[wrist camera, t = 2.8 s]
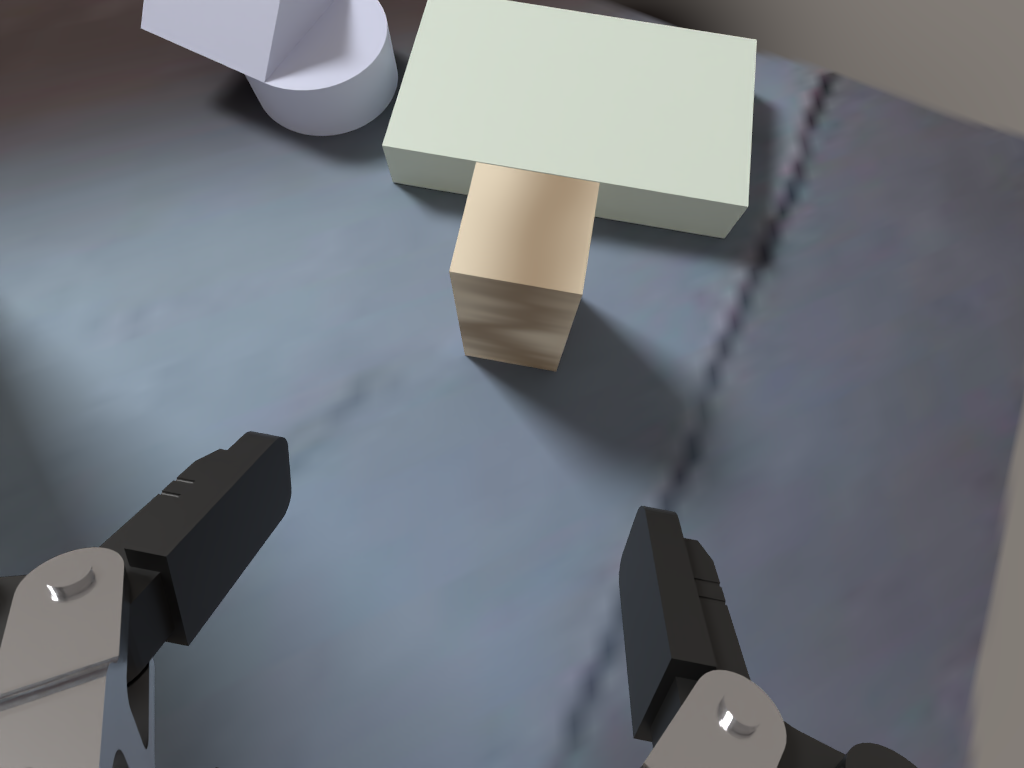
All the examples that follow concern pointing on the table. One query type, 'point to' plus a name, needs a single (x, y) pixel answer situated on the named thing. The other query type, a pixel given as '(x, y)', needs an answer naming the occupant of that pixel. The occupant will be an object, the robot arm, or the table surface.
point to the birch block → (521, 263)
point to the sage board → (580, 109)
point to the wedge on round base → (293, 54)
